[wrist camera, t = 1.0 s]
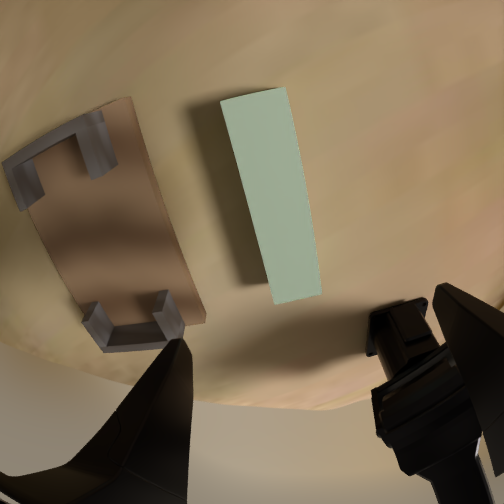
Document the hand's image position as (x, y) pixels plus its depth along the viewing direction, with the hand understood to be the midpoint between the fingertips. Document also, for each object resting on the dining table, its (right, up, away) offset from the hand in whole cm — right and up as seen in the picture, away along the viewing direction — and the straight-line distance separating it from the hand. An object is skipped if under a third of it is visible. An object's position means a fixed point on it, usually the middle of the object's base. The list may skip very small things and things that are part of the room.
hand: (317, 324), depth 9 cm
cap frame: (-13, +4, +11) cm, 18 cm away
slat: (-1, +6, +11) cm, 12 cm away
